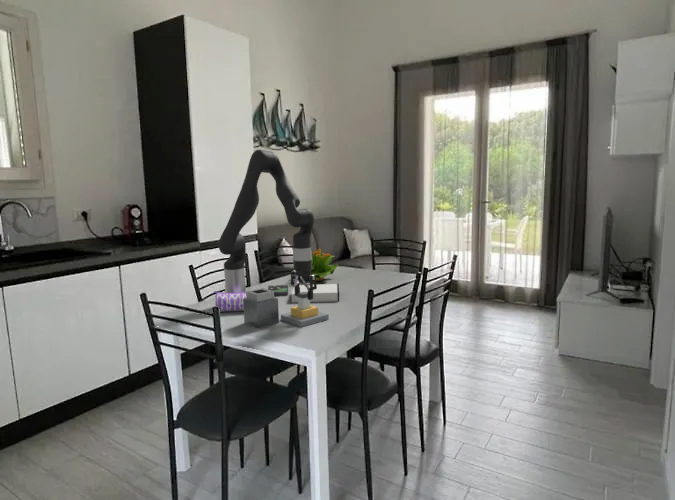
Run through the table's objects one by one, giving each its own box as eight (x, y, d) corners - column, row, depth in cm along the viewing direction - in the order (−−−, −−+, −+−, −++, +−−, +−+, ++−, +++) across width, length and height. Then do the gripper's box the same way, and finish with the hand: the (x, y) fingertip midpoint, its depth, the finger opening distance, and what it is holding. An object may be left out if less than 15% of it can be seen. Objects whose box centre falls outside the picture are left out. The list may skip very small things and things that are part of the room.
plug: (298, 314, 186) (297, 293, 185) (305, 312, 189) (304, 291, 187) (303, 316, 184) (302, 294, 182) (310, 314, 186) (309, 293, 185)
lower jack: (280, 319, 187) (280, 307, 186) (307, 312, 196) (307, 301, 195) (301, 326, 177) (300, 314, 176) (328, 319, 186) (328, 307, 185)
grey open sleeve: (244, 322, 184) (242, 291, 182) (265, 317, 190) (263, 287, 188) (257, 328, 176) (255, 295, 174) (279, 322, 183) (277, 291, 181)
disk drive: (268, 290, 240) (267, 297, 225) (268, 285, 239) (267, 292, 225) (287, 289, 241) (288, 296, 226) (287, 284, 241) (288, 290, 226)
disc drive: (339, 302, 213) (339, 291, 212) (291, 303, 213) (291, 293, 212) (339, 293, 231) (338, 283, 230) (294, 294, 231) (294, 284, 230)
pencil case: (264, 305, 209) (263, 285, 208) (266, 311, 200) (265, 290, 199) (215, 310, 204) (214, 289, 203) (214, 315, 195) (213, 294, 194)
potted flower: (286, 282, 255) (285, 252, 252) (301, 274, 277) (300, 246, 275) (328, 284, 248) (327, 253, 245) (340, 275, 270) (340, 246, 267)
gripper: (284, 257, 185) (286, 296, 188) (305, 262, 175) (307, 302, 177) (299, 255, 190) (300, 293, 193) (320, 259, 180) (322, 299, 182)
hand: (303, 297), depth 185 cm, fingers open, 8 cm apart
